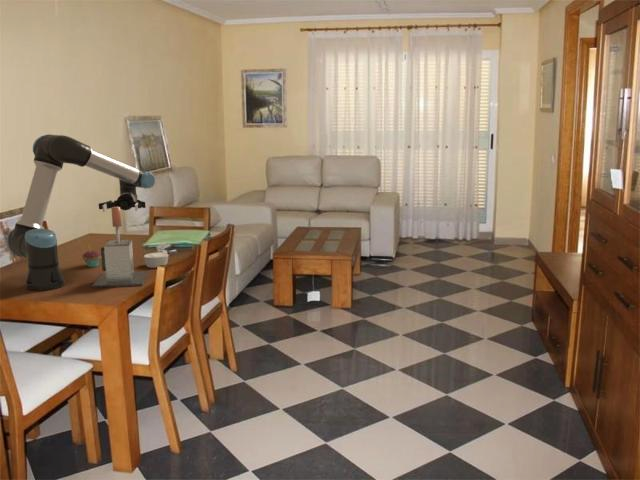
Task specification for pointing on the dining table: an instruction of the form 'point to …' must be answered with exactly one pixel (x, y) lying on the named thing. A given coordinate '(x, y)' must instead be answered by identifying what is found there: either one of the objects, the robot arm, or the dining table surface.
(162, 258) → the ramekin
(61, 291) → the dining table surface
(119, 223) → the salmon orange cylinder
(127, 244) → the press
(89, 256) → the cupcake
